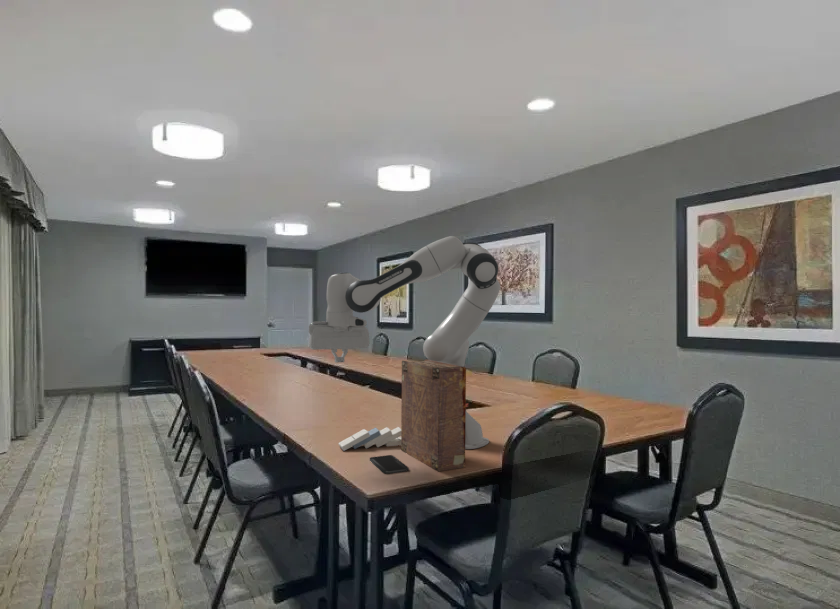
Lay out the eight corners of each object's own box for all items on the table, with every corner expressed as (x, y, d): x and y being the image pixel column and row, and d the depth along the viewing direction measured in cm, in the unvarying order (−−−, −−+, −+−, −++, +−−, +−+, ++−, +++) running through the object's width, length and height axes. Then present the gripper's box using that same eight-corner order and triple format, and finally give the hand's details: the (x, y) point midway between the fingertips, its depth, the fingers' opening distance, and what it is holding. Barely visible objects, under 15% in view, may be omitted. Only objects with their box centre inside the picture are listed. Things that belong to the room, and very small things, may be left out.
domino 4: (374, 443, 177) (400, 430, 180) (377, 447, 173) (403, 434, 175) (372, 439, 177) (398, 426, 180) (375, 443, 172) (402, 430, 175)
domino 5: (383, 443, 179) (409, 440, 182) (387, 446, 174) (414, 444, 177) (383, 438, 179) (409, 436, 182) (387, 442, 174) (414, 439, 178)
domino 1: (340, 447, 173) (366, 432, 176) (343, 451, 168) (370, 436, 172) (338, 443, 172) (364, 428, 176) (341, 446, 168) (368, 431, 171)
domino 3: (363, 444, 176) (388, 431, 179) (366, 448, 171) (392, 434, 174) (361, 440, 176) (386, 426, 179) (364, 444, 171) (390, 430, 174)
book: (400, 450, 170) (401, 360, 170) (425, 446, 174) (425, 359, 174) (438, 472, 147) (439, 368, 147) (465, 467, 151) (466, 366, 152)
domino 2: (351, 445, 175) (377, 431, 178) (354, 449, 170) (381, 434, 174) (349, 441, 175) (375, 427, 178) (352, 444, 170) (379, 430, 173)
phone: (384, 471, 145) (368, 457, 159) (384, 475, 145) (368, 461, 159) (410, 468, 148) (392, 454, 162) (410, 472, 148) (392, 458, 162)
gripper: (311, 321, 164) (310, 364, 163) (371, 321, 172) (371, 361, 172) (306, 321, 169) (306, 362, 169) (364, 320, 178) (364, 360, 178)
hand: (339, 362), depth 171 cm, fingers closed
